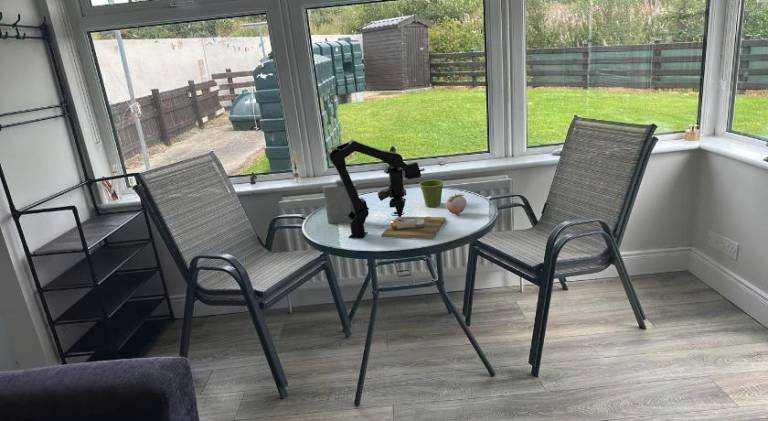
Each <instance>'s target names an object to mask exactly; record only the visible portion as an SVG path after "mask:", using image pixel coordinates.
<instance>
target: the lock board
mask: <svg viewBox="0 0 768 421" xmlns="http://www.w3.org/2000/svg"><path fill="white" fill-rule="evenodd" d="M416 218H423V219H424V227H422V228H416V227H415V228H398V229H392V228H391V224H390V225H389V226H388V227H387V228H386V229H385V230H384V231H383V232H381V238H382V237H395V238H394V239H412V238H418V239H419V238H420V239H421V240H434V239H435V238H436V235H437V234H438V233H439V231H441V228H442V227H443V226H444V223H445V222H446V221H447V218H446V216H445V217H444V216H442V217H441V216H440V217H437V216H401V217H399V216H397V217H396V218H395V219H394V220H405V219H416ZM433 238H434V239H433ZM420 239H419V240H420Z"/></svg>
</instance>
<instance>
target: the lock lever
mask: <svg viewBox="0 0 768 421" xmlns="http://www.w3.org/2000/svg"><path fill="white" fill-rule="evenodd" d="M390 225H391V228H392V229H398V228H415V227H416V228H422V227H424V219H423V218H416V219H405V220H395V219H392V220H390Z"/></svg>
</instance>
